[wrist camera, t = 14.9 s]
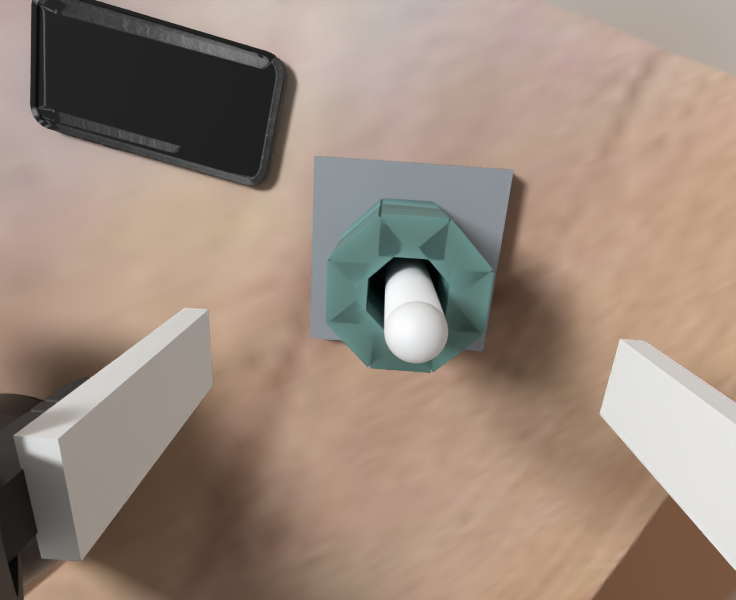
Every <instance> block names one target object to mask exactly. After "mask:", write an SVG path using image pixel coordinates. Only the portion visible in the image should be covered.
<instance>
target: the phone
mask: <svg viewBox="0 0 736 600" xmlns="http://www.w3.org/2000/svg"><path fill="white" fill-rule="evenodd" d="M286 79H287V74H286V69H285V67H284V65H283V63H282V62H281V61H280V60H279V59H278V58H277V57H276V56H275V55H274V54H272V53H270V52H268V51H264V50H261V49H258V48H254V47H251V46H248V45H244V44H241V43H237V42H234V41H231V40H227V39H224V38H221V37H217V36H214V35H211V34H207V33H204V32H201V31H197V30H194V29H190V28H187V27H184V26H180V25H177V24H174V23H170V22H167V21H164V20H160V19H157V18H153V17H150V16H147V15H143V14H140V13H137V12H133V11H130V10H127V9H123V8H120V7H116V6H113V5H110V4H106V3H103V2H100V1H96V0H32V4H31V86H30V106H31V111H32V114H33V116H34V118H35V119H36V120H37V122H38V123H40V124H41V125H42V126H43V127H46V128H48V129H51V130H55V131H58V132H62V133H65V134H67V135H71V136H74V137H79V138H83V139H84V140H88V141H91V142H95V143H98V144H103V145H104V146H108V147H111V148H115V149H122V150H125V151H129V152H132V153H136V154H139V155H143V156H146V157H150V158H153V159H157V160H160V161H164V162H167V163H171V164H175V165H178V166H182V167H185V168H189V169H192V170H196V171H199V172H203V173H206V174H210V175H213V176H217V177H220V178H224V179H227V180H231V181H234V182H238V183H241V184H245V185H254V184H259V183H261V182H262V181H264V180H265V179H266V177H267V176H268V173H269V170H270V165H271V159H272V154H273V149H274V144H275V138H276V133H277V128H278V123H279V117H280V112H281V107H282V102H283V96H284V91H285V86H286Z"/></svg>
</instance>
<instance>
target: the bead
mask: <svg viewBox="0 0 736 600" xmlns="http://www.w3.org/2000/svg"><path fill="white" fill-rule="evenodd" d="M393 257H403V258H417V259H429V261H430V262H431V270H430V274H429V275H430V277H431V280H432V283H433V286H434V288H435V291H436V294H437V297H438V299H439V302H440V305H441V308H442V310H443V313H444V316H445V319H446V322H447V326H448V338H447V342H446V344H445V346H444V348H443V350H442V351H441V352H440V353H439V354H438V355H437V356H436V357H435V358H433V359H431V360H429V361H427V362H423V363H409V362H406V361H403V360H401V359H399V358H398V357H397V356H395V355H394V354H393V353H392V352H391V350H390V349H389V347H388V345H387V343H386V340H385V335H384V316H385V283H384V282H383V281H382V280H381V279H380V278H379V277H378V276H377V275H376V273H375V272H376V271H378V270H379V269H380V268H381V267H382V266H384V265H385V264H386V263H387V262H388V261H389V260H391V259H392V258H393ZM492 270H493V269H492V268H491V267H490V265H489V264H488V263H487V262H486V260H485V259H484V258H483V257H482V256H481V254H480V253H479V252H478V251H477V249H476V248H475V247H474V246H473V245H472V243H471V242H470V241H469V240H468V238H467V237H466V236H465V235H464V233H463V232H462V231H461V230H460V229H459V227H458V226H457V225H456V224H455V222H454V221H453V220H452V219H451V218H450V217H449V216H448V215H447V214H446V213H445V212H443V211H442V210H441V209H440V208H439V207H438V206H437V205H436V204H435V203H434V202H432V201H419V200H404V199H389V198H383V201H382V199H380V200H379V201H378V202H377V203H376V204H375V205H374V206H372V207H371V208H370V209H369V210H368V211H367V212H366V213H365V214H363V215H362V216H361V217H360V218H359V219H358V220H357V221H356V222H355V223H353V224H352V225H351V226H350V227H349V228H348V229H347V230H346V231H345V232H344V234H343V235H342V237H341V239H340V240H339V242H338V244H337V245H336V247H335V249H334V250H333V252H332V254H331V255H330V257H329V259H328V261H327V290H326V322H327V325H328V326H329V327H330V328H331V329H332V330H333V332H334V333H335V334H336V335H337V336H338V337H339V338H340V339H341V340H342V341H343V342H344V343H345V344H346V345H347V346H348V347H349V348H350V349H351V350H352V351H353V352H354V353H355V354H356V355H357V356H358V357H359V359H360V360H361V361H362V362H363V363H364V364H365V365H366V366H367V367H368V366H370V368H374V369H387V370H400V371H413V372H426V373H431V370H432V371H433V372H434V371H435V370H437V369H438V368H440V367H441V366H442V365H444V364H445V363H446V362H448V361H449V360H450V359H452V358H453V357H454V356H456V355H457V354H459V353H460V352H461V351H463V350H464V349H465V348H467V347H468V346H469V345H471V344H472V343H474V342H475V341H476V340H478V339H479V338H480V337H482V334H481V333H484V331H485V325H486V319H487V312H488V306H489V300H490V294H491V287H492V281H493V275H494V272H493V271H492Z"/></svg>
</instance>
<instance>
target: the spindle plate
mask: <svg viewBox="0 0 736 600" xmlns="http://www.w3.org/2000/svg"><path fill="white" fill-rule="evenodd" d="M513 171H514V170H509V169H495V168H481V167H466V166H452V165H437V164H423V163H409V162H394V161H380V160H366V159H351V158H337V157H322V156H315V159H314V200H313V240H312V281H311V322H310V338H316V339H329V340H341V339H340V338H339V337H338V336H337V335H336V334H335V333H334V332H333V330H332V329H331V328H330V327H329V326H328V325H327V322H326V290H327V261H328V259H329V257H330V255H331V254H332V252H333V250H334V249H335V247H336V245H337V244H338V242H339V240H340V239H341V237H342V235H343V234H344V232H345V231H346V230H347V229H348V228H349V227H350V226H351V225H352V224H353V223H355V222H356V221H357V220H358V219H359V218H360V217H361V216H362V215H363V214H365V213H366V212H367V211H368V210H369V209H370V208H371V207H372V206H374V205H375V204H376V203H377V202H378V201H379V200H380V199H382V201H383V198H389V199H404V200H419V201H432V202H434V203H435V204H436V205H437V206H438V207H439V208H440V209H441V210H442V211H443V212H445V213H446V214H447V215H448V216H449V217H450V218H451V219H452V220H453V221H454V222H455V224H456V225H457V226H458V227H459V229H460V230H461V231H462V232H463V233H464V235H465V236H466V237H467V238H468V240H469V241H470V242H471V243H472V245H473V246H474V247H475V248H476V249H477V251H478V252H479V253H480V254H481V256H482V257H483V258H484V259H485V260H486V262H487V263H488V264H489V265H490V267H491V268H492V269H493V270H492V271H493V272H494V275H493V281H492V287H491V294H490V300H489V306H488V312H487V319H486V325H485V331H484V333H481V334H482V337H480V338H479V339H478V340H476V341H475V342H474V343H472V344H471V345H469V346H468V347H467V348H465V349H464V350H468V351H480V352H483V351H484V345H485V339H486V333H487V327H488V321H489V315H490V309H491V303H492V297H493V291H494V285H495V279H496V273H497V267H498V261H499V255H500V249H501V243H502V237H503V231H504V225H505V219H506V213H507V207H508V201H509V195H510V189H511V183H512V177H513ZM430 270H431V262H430V261H429V259H417V258H403V257H393V258H392V259H391V260H389V261H388V262H387V263H386V264H385V265H384V266H382V267H381V268H380V269H379V270H378V271H376V272H375V273H376V275H377V276H378V277H379V278H380V279H381V280H382V281H383V282H384V283H385V316H384V335H385V340H386V343H387V345H388V347H389V349H390V350H391V352H392V353H393V354H394V355H395V356H397V357H398V358H399V359H401V360H403V361H406V362H409V363H423V362H427V361H429V360H431V359H433V358H435V357H436V356H437V355H438V354H439V353H440V352H441V351H442V350H443V348H444V346H445V344H446V342H447V338H448V326H447V322H446V319H445V316H444V313H443V310H442V308H441V305H440V302H439V299H438V297H437V294H436V291H435V288H434V286H433V283H432V280H431V277H430V275H429V274H430ZM341 341H342V340H341Z"/></svg>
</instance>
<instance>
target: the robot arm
mask: <svg viewBox="0 0 736 600" xmlns="http://www.w3.org/2000/svg"><path fill="white" fill-rule="evenodd" d="M212 386H213V384H212V365H211V347H210V329H209V311H208V309H195V308H184V309H182V310H181V311H180V312H178V313H177V314H176V315H174V316H173V317H171V318H170V319H169V320H167V321H166V322H165V323H163V324H162V325H161V326H159V327H158V328H157V329H155V330H154V331H153V332H151V333H150V334H149V335H147V336H146V337H145V338H143V339H142V340H141V341H139V342H138V343H137V344H135V345H134V346H133V347H131V348H130V349H129V350H127V351H126V352H125V353H123V354H122V355H121V356H119V357H118V358H117V359H115V360H114V361H113V362H111V363H110V364H109V365H107V366H106V367H104V368H103V369H102V370H100V371H99V372H98V373H96V374H95V375H94V376H92V377H84V378H82V379H79V380H77V381H75V382H72V383H70V384H68V385H65V386H63V387H62V388H60V389H59V390H57V391H56V392H55V393H53V394H52V395H50V396H49V397H47V398H46V400H45V402H44V401H39V400H36V399H33V398H30V397H26V396H21V395H14V394H0V600H24V596H23V588H24V587H26V586H27V585H28V584H30V583H31V582H32V581H34V580H35V579H36V578H37V577H39V576H40V575H41V574H42V573H44V572H45V571H46V570H47V569H48V568H50V567H51V566H52V565H54V564H55V563H56V562H57V561H58V560H69V561H82V560H83V559H84V557H85V556H86V555H87V553H88V552H89V551H90V549H91V548H92V547H93V545H94V544H95V543H96V541H97V540H98V539H99V537H100V536H101V535H102V533H103V532H104V530H105V529H106V528H107V526H108V525H109V524H110V522H111V521H112V520H113V518H114V517H115V516H116V514H117V513H118V512H119V510H120V509H121V508H122V506H123V505H124V504H125V502H126V501H127V500H128V498H129V497H130V496H131V494H132V493H133V492H134V490H135V489H136V488H137V486H138V485H139V484H140V482H141V481H142V480H143V478H144V477H145V476H146V474H147V473H148V472H149V470H150V469H151V468H152V466H153V465H154V464H155V462H156V461H157V460H158V458H159V457H160V456H161V454H162V453H163V452H164V450H165V449H166V448H167V446H168V445H169V444H170V442H171V441H172V440H173V438H174V437H175V436H176V434H177V433H178V432H179V430H180V429H181V428H182V426H183V425H184V424H185V422H186V421H187V420H188V418H189V417H190V415H191V414H192V413H193V411H194V410H195V409H196V407H197V406H198V405H199V403H200V402H201V401H202V399H203V398H204V397H205V395H206V394H207V393H208V391H209V390H210V389H211V387H212ZM600 415H601V416H602V417H603V419H604V420H605V421H606V422H607V423H608V424H609V425H610V427H611V428H612V429H613V430H614V431H615V432H616V434H617V435H618V436H619V437H620V438H621V439H622V440H623V442H624V443H625V444H626V445H627V446H628V447H629V449H630V450H631V451H632V452H633V453H634V454H635V455H636V457H637V458H638V459H639V460H640V461H641V462H642V463H643V465H644V466H645V467H646V468H647V469H648V470H649V472H650V473H651V474H652V475H653V476H654V477H655V478H656V480H657V481H658V482H659V483H660V484H661V485H662V486H663V488H664V489H665V490H666V491H667V492H668V493H669V495H670V496H671V497H672V498H673V499H674V500H675V501H676V503H677V504H678V505H679V506H680V507H681V508H682V509H683V511H684V512H685V513H686V514H687V515H688V516H689V518H690V519H691V520H692V521H693V522H694V523H695V524H696V526H697V527H698V528H699V529H700V530H701V531H702V532H703V534H704V535H705V536H706V537H707V538H708V539H709V540H710V542H711V543H712V544H713V545H714V546H715V547H716V549H717V550H718V551H719V552H720V553H721V554H722V555H723V557H724V558H725V559H726V560H727V561H728V562H729V564H730V565H731V566H732V567H733V568H734V569H735V570H736V403H735V402H734V401H732V400H731V399H729V398H728V397H727V396H725V395H724V394H722V393H721V392H719V391H718V390H716V389H715V388H713V387H712V386H710V385H709V384H707V383H706V382H704V381H703V380H701V379H700V378H699V377H697V376H696V375H694V374H693V373H691V372H690V371H688V370H687V369H685V368H684V367H682V366H681V365H679V364H678V363H676V362H675V361H673V360H672V359H670V358H669V357H668V356H666V355H665V354H663V353H662V352H660V351H659V350H657V349H656V348H654V347H653V346H651V345H650V344H648V343H647V342H645V341H641V340H627V339H620V341H619V345H618V348H617V352H616V356H615V359H614V363H613V367H612V370H611V374H610V378H609V381H608V385H607V389H606V392H605V396H604V400H603V403H602V407H601V411H600Z"/></svg>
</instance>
